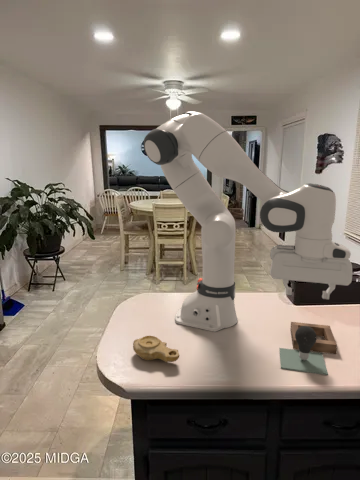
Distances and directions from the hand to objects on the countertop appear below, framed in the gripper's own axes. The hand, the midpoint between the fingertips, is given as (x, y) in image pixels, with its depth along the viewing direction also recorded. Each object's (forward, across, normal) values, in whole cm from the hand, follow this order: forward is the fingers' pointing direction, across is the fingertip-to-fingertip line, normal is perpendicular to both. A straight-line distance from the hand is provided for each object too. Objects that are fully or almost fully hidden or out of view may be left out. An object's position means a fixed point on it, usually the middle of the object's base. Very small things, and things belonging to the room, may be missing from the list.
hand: (306, 296), depth 88 cm
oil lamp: (+21, -40, -8) cm, 46 cm away
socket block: (+20, +5, +12) cm, 23 cm away
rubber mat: (+20, +1, 0) cm, 20 cm away
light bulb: (+19, +1, 0) cm, 19 cm away
